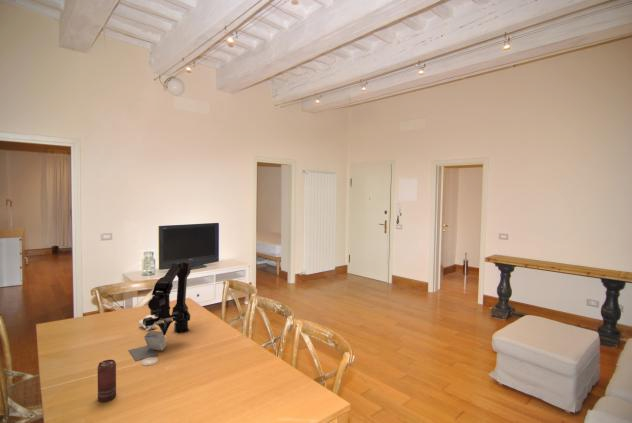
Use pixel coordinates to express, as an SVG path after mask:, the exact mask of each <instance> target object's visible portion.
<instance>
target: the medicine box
mask: <svg viewBox="0 0 632 423" xmlns="http://www.w3.org/2000/svg"><path fill="white" fill-rule="evenodd" d="M144 340H145V342H146V343H145V344H146V346H148V348H149V349H152V350H154V351H163V350H164V349H165V348H166V346H167V345H168V343H167V341H166V338H165V335H163V332H161V331H156V330H149V331H147V333H146V334H145V335H144Z"/></svg>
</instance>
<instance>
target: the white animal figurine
mask: <svg viewBox="0 0 632 423" xmlns="http://www.w3.org/2000/svg"><path fill="white" fill-rule="evenodd" d="M148 317H152V318H153V319H154V318H157V317H155V316H154V315H151V314H148V315H146V316H144V318H148ZM144 318H141V319H140V320H139V321H138V325H139V328H143V329H145V332H149V331H151V329H153V330H154V329H155V328H156V325H157V324H155V323H154V324H153V325H151V326H145V325H144V324H143V319H144Z"/></svg>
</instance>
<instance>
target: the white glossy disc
mask: <svg viewBox="0 0 632 423" xmlns="http://www.w3.org/2000/svg"><path fill="white" fill-rule="evenodd" d="M158 362H159V359H158V358H157V357H156V356H153V357H149V358H145V359H142V360H141V366H144V367H150V366H153V365H155V364H157V363H158Z"/></svg>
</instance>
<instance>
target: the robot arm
mask: <svg viewBox="0 0 632 423" xmlns="http://www.w3.org/2000/svg"><path fill="white" fill-rule="evenodd" d="M191 270H192V264H191V263H190V262H183V261H172V263H171V266H170V267H169V269H168V270H167V271H166V273H165V275H164V276H163V277H162V276H161V277H160V278H159V279H158V280H157V281H155V284H154V287H153V290H152V293H151V297H152V298H151V299H150V300H149V301H148V302H147V306H148V307H147V308H148V309H149V310H150V314H149V315H153V316H155V317H156V318H154V319H153V318H152V317H148V318H145V317H144V318H142V319H143V324H144V325H145V326H146V327H148V326H151V325H153V324H154V323H155V324H156V325H157V326H158V327H159V328H160V332H163V335H164V336H166V334H167V332H168V330H169V327H170V326H171V324H172V323H173V322H175V323H174V324H173V327H174V328H173V330H174V331H175V332H176V333H177V334H181V333H184V332H188V331H190V329H188V328H189V326H188V325H189V321H191V313H190V312H189V306H188V305H187V303H186V296H187V281H188V277H189V276H190V274H191ZM176 277H177V291H176V292H177V294H176V303H175V305H174V306H173V307H172V311H171V310H170V309H171V306H170V295H171V293H172V292H171V291H172V289H173V287H174V284H173V281H174V280H175V278H176ZM170 311H171V314H170Z"/></svg>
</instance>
